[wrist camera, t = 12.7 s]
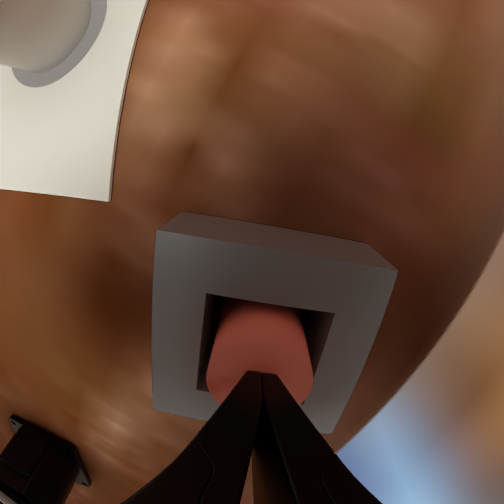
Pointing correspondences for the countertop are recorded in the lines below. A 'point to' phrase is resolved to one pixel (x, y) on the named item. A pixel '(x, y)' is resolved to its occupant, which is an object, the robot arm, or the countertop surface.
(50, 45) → the teal and white bottle
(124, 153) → the countertop surface
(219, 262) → the button housing
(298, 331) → the button
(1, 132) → the paper
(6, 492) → the robot arm
